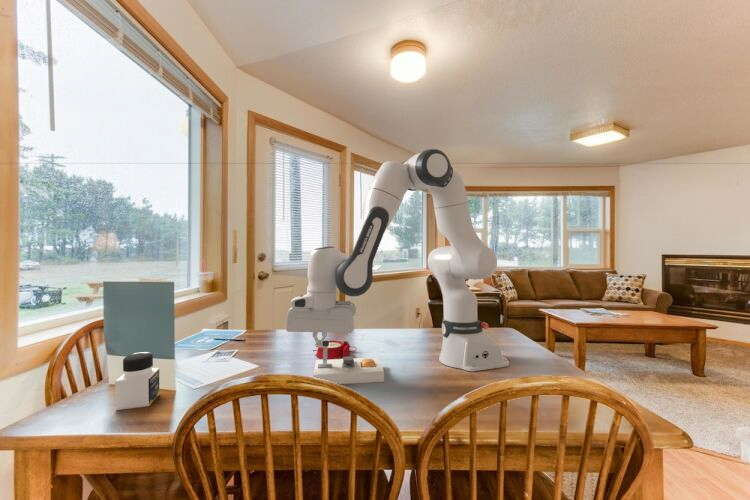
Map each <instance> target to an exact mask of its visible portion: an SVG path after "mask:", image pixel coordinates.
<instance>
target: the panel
mask: <svg viewBox="0 0 750 500" xmlns="http://www.w3.org/2000/svg"><path fill="white" fill-rule="evenodd" d="M353 359H354V364H343V358H338V359H327V364H323V359H315V364H314V369H313V374H312V375H313V376H312V378H313V377H316V378H320V379H325V380H329V381H332V382H335V383H338V384H337V385H347V384H348V385H349V384H350V385H352V384H365V383H366V384H367V383H382V382H385V370H384V367H383V365H382V363H381V360H380V357H379V356H377V357H357V358H354V357H353ZM364 359H373V360H374V367H364V368H362V360H364Z"/></svg>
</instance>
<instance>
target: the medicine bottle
mask: <svg viewBox="0 0 750 500" xmlns="http://www.w3.org/2000/svg"><path fill="white" fill-rule="evenodd" d="M153 358H154V355H153V354H152V353H151V352H148V351H144V352H143V351H142V352H141V351H140V352H134V353H131V354H128V355H127V356H125V357H124V358H123V359H122V373H123V374H122V375H121V376H120V377H119V378H117V379H116V380H115V382H114V390H115V392H114V394H115V395H114V399H115V404H114V407H115V411H120V410H121V411H122V410H129V409H139V408H146V407H150V405H152V403H153V402H154V401H155V400H156V399H157V398H158V396H159V395H160V368H159V367H154V359H153Z"/></svg>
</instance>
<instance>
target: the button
mask: <svg viewBox="0 0 750 500" xmlns="http://www.w3.org/2000/svg"><path fill="white" fill-rule="evenodd" d="M364 367H374V360H373V359H364V360H362V368H364Z"/></svg>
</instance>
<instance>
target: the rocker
mask: <svg viewBox="0 0 750 500" xmlns="http://www.w3.org/2000/svg"><path fill="white" fill-rule="evenodd" d="M353 358H354V356H351V355H350V356H348V357H342V359H343V364H354V359H353Z"/></svg>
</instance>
